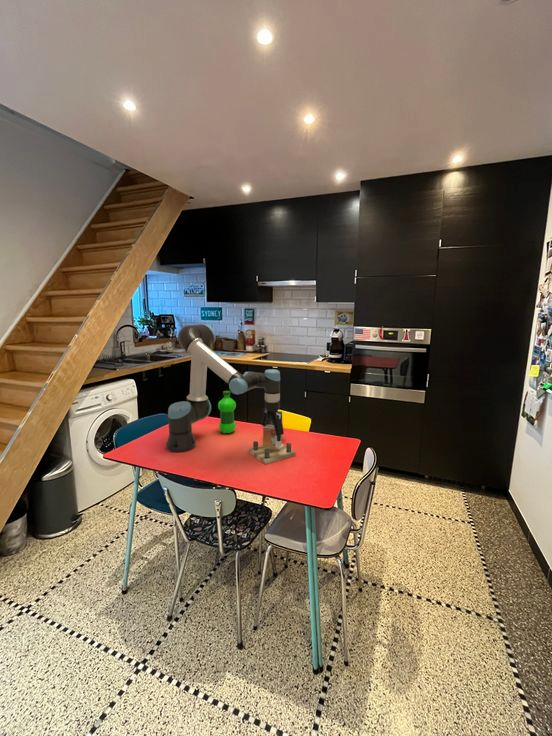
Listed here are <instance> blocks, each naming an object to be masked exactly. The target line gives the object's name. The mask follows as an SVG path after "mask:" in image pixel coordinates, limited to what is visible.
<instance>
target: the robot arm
mask: <svg viewBox="0 0 552 736" xmlns="http://www.w3.org/2000/svg"><path fill="white" fill-rule="evenodd" d="M216 339H217V336H216V331H215V329H213V327H212V326H210V325H209V324H205V323H203V324H202V323H200V324H189V325H184V326H183V327H182V328H181V329H180V330H179V331H178V334H177V341H178V344H179V345H180V348H182V349H183V350H184V351H185V352H186V353H187V354H189V355H191V356H190V357H191V360H190V361H191V363H190V378H189V379H190V380H189V381H190V382H189V394H188V395H187V396H186V401H185V400H184V401H183V400H182V401H177V402H174V403H171V404H170V405H169V407H168V410H167V419H168V437H167V441H166V444H165V445H166V450H167V449H168V450H167V451H169V450H170V451H169V452H171V451H174V452H173V453H184V452H188V451H191V450H194V448H196V444H197V443H196V439H195V436H194V433H193V428H192V425H193V424H194V423H197V422H199V421H202V420H204V419H206V418H207V417H208V416H209V415H210V413H211V412H212V404H211V402H210V400H209V397H208V395H206V390H207V376H208V375H207V372H208V368H209V370H211V371H212V372H213V373H215V374H216V375H217V376H218V377H219V378H221V379H222V381H224V382H225V383H227V384H228V387H229V391H230V392H231V393H232V394H234V395H241V394H244V393H246V392H248V391H250V390H253V389H256V388H257V389H258V388H259V389H264V408H263V409H262V413H263V414H262V420H261V426H262V428H263V427H265V426H266V425H267V424H270V421H271V419H272V422H273V424H274V427H275V431H276V435H275V447H276V448H277V447H280V441H281V435H282V436H283V435H284V434H285V431H284V425H283V413H282V414H278V411H279V410H280V408H281V401H280V400H281V372H280V370H278V369H274V368H272V369H270V368H269V369H265V371H264V372H255V371H245V372H244V373H243V374H242V373H240V372H239V371H238V370H236V369H235V368H234V367H233V366H231V365H230V364H229V363H228V362H227V361H225V360H224V359H223V358H222V357H221V356H220V355H218V354H217V353H216V352H215V351H214V350H212V345H214V343H215V342H216ZM274 419H276V420H274Z"/></svg>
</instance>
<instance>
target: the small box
mask: <svg viewBox="0 0 552 736" xmlns="http://www.w3.org/2000/svg"><path fill="white" fill-rule="evenodd" d="M262 428H263V429H262V445H263V447H267V448H272V449H278V448H279V447H277V448H276V447H275V435H276V431H275V427H274V425H269V424H267V425H266V426H265V427H263V426H262ZM281 444H282V442H281V441H280V446H281Z"/></svg>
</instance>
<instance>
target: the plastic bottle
mask: <svg viewBox="0 0 552 736" xmlns="http://www.w3.org/2000/svg"><path fill="white" fill-rule="evenodd" d="M231 393H232V392H231V390H224V391H222V395H223V397H222V399H221V400H219V401H218V404H217V408H218V410H219V412H220V413H219V414H220V415H219V416H220V422H219V425H218V428H219V430H220V431H221V433H223V434H225V433H230V434H232V433H233V432H234V430H235V429H236V426H237V425H236V422H235V409H236V407H237V403H236V401H235V400H234V399H233V398H231V397H230V396H231ZM231 432H232V433H231Z"/></svg>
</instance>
